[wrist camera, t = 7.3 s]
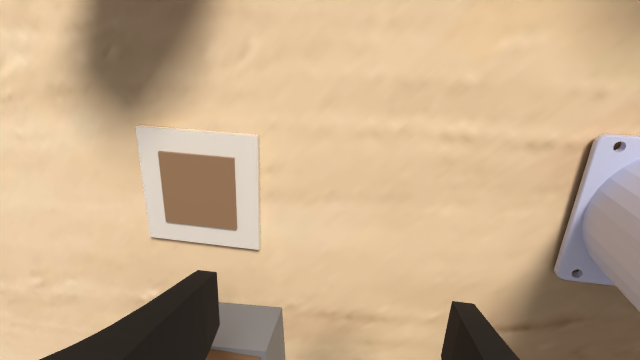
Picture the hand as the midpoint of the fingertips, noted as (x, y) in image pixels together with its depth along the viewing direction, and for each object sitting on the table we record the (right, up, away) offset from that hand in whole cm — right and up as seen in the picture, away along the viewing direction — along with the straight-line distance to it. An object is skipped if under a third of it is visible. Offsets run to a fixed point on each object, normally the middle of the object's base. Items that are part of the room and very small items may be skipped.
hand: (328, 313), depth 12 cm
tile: (-7, +4, +11) cm, 14 cm away
